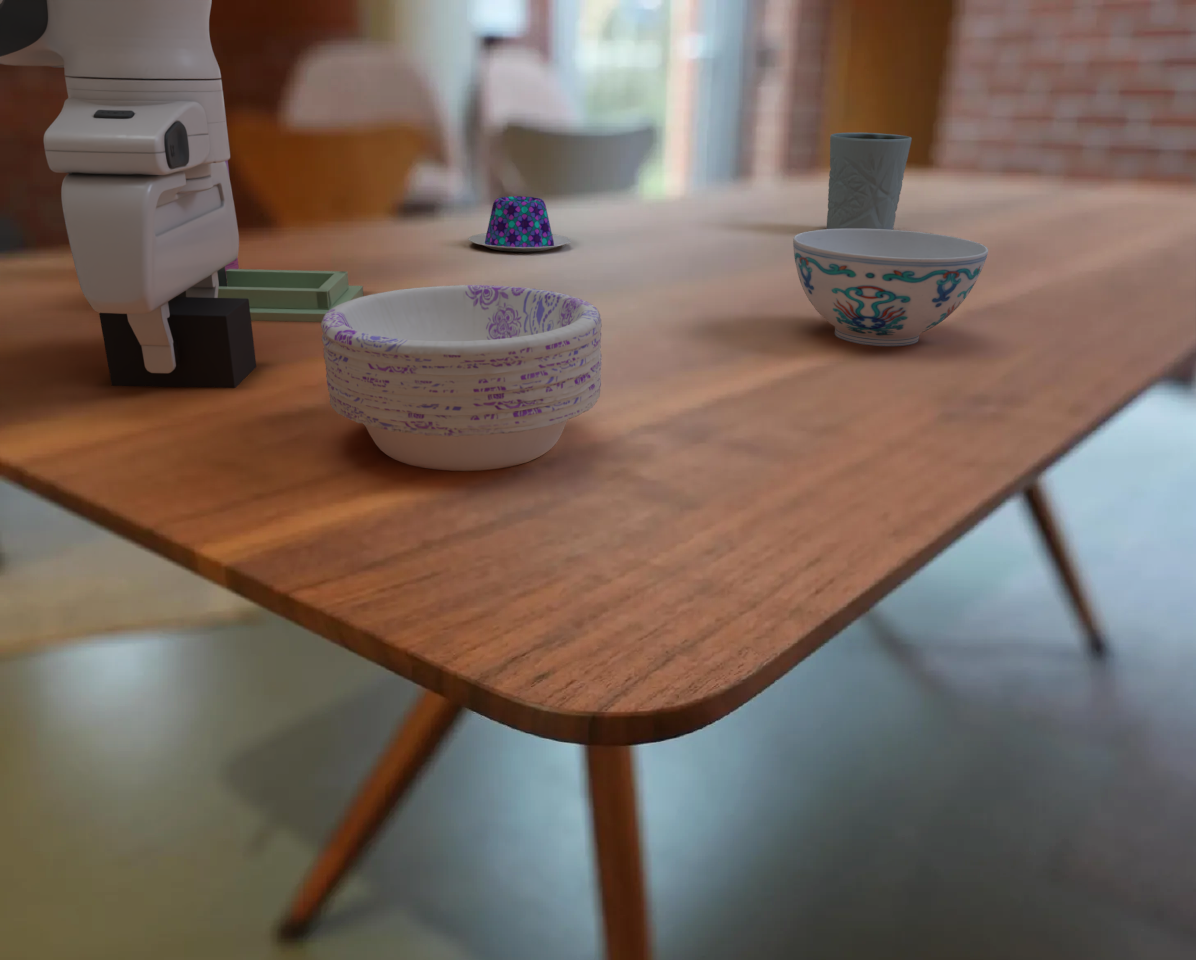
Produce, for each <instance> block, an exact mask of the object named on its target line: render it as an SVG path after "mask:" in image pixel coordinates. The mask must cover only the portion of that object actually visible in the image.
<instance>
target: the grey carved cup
mask: <svg viewBox="0 0 1196 960" xmlns="http://www.w3.org/2000/svg"><path fill="white" fill-rule="evenodd" d="M829 140H830V141H829V168H830V170H829V173H828V174H829V178H828V191H827V192H828V193H827V194H828V195H827V215H826V216H827V217H826V229H887V230H894V226H895V222H896V218H897V217H896V216H897V215H896V212H897V210H898V204H899V202H900V195H901V191H902V187H903V181H904V174H905V170H906V167H907V161H908V158H909V153H910V149H911V144H912V140H913V139H912V137H911V136H907V135H902V134H893V133H892V134H891V133H879V132H837V133H832V134H830V136H829Z"/></svg>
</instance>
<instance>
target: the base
mask: <svg viewBox="0 0 1196 960" xmlns="http://www.w3.org/2000/svg"><path fill="white" fill-rule="evenodd" d="M217 273H218V281H219V289H218V298H248V299H249V306H250V315H251V322H253V321H254V322H255V321H256V322H258V321H259V322H260V321H261V322H263V321H264V322H300V323H301V322H302V323H321V322H322V320H323V317H324V316H325V314H326V313H327V312H328V311H329V310H330V309H332V308H334V307H335V306H337V305H339V304H342V303H344V302H347V301H350V300H353V299H356V298H359V297H363V296H364V286H363V285H349V275H348V271H345V270H344V271H343V270H342V271H341V270H339V271H338V270H301V269H298V270H296V269H256V268H255V269H252V268H251V269H249V268H239V269H228V270H226V272H225V266H224V267H223V268H221V269H220V270H218V271H217ZM226 277H227V280H226ZM176 297H186V291H184V292H183V293H181V294H179V295H178V296H176Z"/></svg>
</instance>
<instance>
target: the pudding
mask: <svg viewBox="0 0 1196 960" xmlns="http://www.w3.org/2000/svg"><path fill="white" fill-rule="evenodd" d="M467 240H468V241H469V242H471V243H474V244H476V245H479V246H484V247H486V248H487V249H492V250H496V251H501V252H502V251H504V252H516V253H517V252H518V253H520V252H522V253H524V252H525V253H526V252H528V253H529V252H530V253H531V252H544V251H547V250H552V249H554V248H558V247H562V246H565V245H568V244H569V243H571V242H572V239H571V238H569V237H568V236H566V235H565V236H564V235H560V234H555V233H552V228H551V224H550V218H549V214H548V210H547V205H546V202H545V201H544V200H543V199H542V198H539V197H534V196H521V195H520V196H518V195H515V196H502V197H498V198H496V199H495V200H494V201H493V204H492V208H491V212H490V215H489V220H488V225H487V230H486V232H484V233H483V232H482V233H478V234H474V235H471V236H469V237H468V239H467Z"/></svg>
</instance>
